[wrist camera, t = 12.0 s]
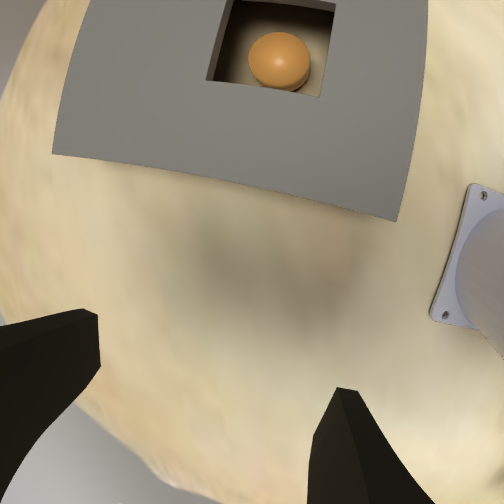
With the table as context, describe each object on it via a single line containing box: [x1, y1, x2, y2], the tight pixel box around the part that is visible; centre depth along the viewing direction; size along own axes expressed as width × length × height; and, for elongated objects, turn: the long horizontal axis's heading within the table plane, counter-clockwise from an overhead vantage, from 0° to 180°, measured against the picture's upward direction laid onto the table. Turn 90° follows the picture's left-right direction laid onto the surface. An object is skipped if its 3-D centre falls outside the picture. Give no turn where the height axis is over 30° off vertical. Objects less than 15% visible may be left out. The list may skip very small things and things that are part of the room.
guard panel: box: [52, 0, 428, 222], centre depth 12 cm, size 16×12×4 cm
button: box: [248, 32, 310, 92], centre depth 13 cm, size 3×3×2 cm
